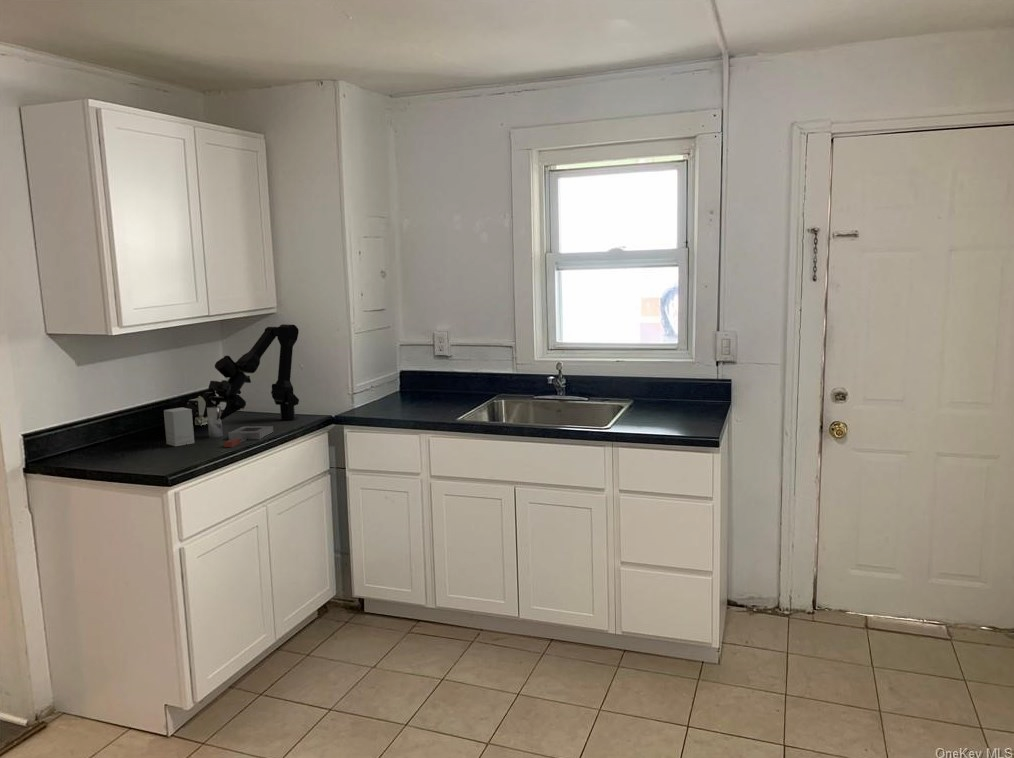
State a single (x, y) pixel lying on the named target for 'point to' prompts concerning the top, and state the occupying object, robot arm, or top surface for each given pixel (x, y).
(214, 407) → the shiny metal cylinder
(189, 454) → the top surface
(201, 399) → the pneumatic valve
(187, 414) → the supplement box
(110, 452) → the top surface
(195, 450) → the top surface
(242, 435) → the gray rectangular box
